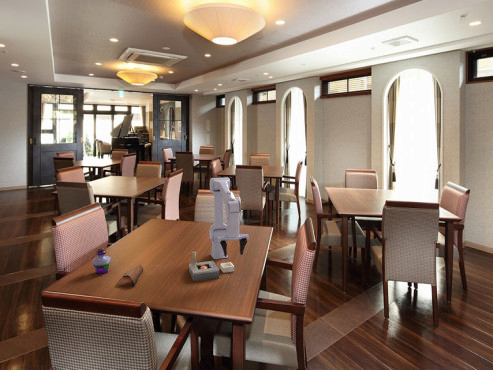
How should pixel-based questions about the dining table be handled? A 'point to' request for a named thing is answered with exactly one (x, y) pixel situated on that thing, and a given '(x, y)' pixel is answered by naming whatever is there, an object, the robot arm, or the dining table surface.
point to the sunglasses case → (130, 277)
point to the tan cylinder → (193, 257)
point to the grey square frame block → (203, 271)
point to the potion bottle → (101, 261)
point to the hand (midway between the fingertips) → (233, 255)
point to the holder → (227, 267)
